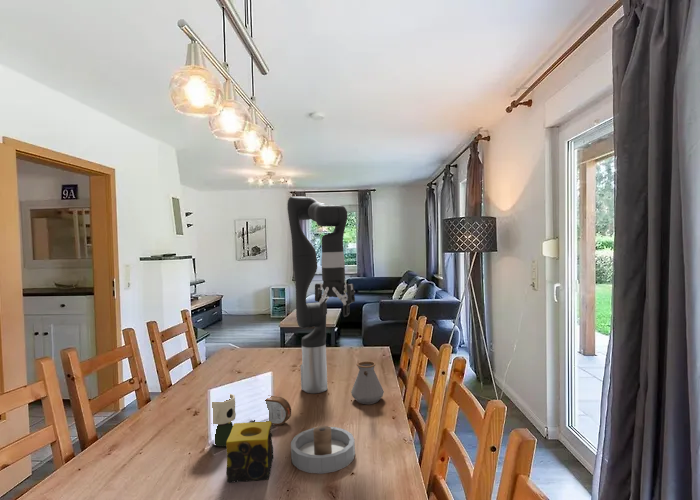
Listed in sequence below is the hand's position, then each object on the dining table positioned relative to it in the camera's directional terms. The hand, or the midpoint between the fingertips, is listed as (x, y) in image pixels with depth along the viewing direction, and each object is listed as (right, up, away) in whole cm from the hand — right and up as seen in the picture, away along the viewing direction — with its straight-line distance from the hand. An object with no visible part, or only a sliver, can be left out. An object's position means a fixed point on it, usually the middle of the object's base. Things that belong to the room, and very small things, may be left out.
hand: (335, 315), depth 131 cm
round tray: (-2, -33, -26) cm, 42 cm away
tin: (-21, -33, -5) cm, 39 cm away
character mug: (-31, -34, -17) cm, 49 cm away
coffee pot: (+11, -32, +5) cm, 34 cm away
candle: (-20, -34, -31) cm, 50 cm away
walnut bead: (-2, -32, -26) cm, 41 cm away
